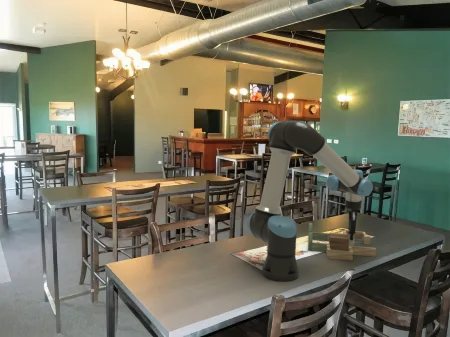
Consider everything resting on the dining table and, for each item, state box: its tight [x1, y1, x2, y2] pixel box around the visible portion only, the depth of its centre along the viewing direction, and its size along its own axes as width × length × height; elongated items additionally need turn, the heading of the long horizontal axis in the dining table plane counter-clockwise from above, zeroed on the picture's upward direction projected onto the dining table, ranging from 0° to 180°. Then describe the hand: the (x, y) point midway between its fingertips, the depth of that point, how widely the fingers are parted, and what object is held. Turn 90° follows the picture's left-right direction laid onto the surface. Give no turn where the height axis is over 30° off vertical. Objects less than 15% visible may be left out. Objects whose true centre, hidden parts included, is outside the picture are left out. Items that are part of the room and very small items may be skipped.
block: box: [328, 232, 349, 251], centre depth 184 cm, size 9×9×6 cm
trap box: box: [307, 222, 377, 262], centre depth 183 cm, size 36×32×9 cm
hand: (350, 245), depth 182 cm, fingers closed
